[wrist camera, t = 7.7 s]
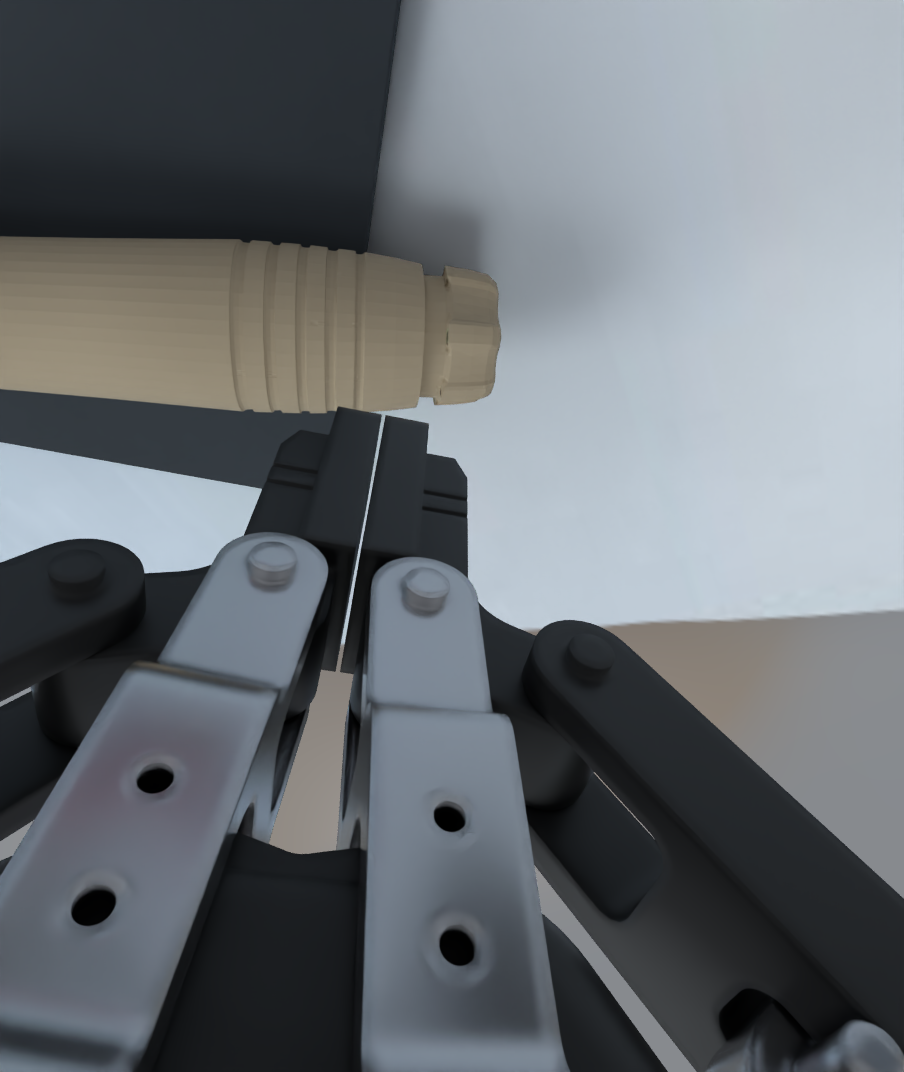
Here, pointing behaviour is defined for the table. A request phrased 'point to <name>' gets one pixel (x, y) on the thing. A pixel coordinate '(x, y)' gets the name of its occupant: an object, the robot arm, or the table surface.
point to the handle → (241, 325)
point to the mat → (187, 172)
